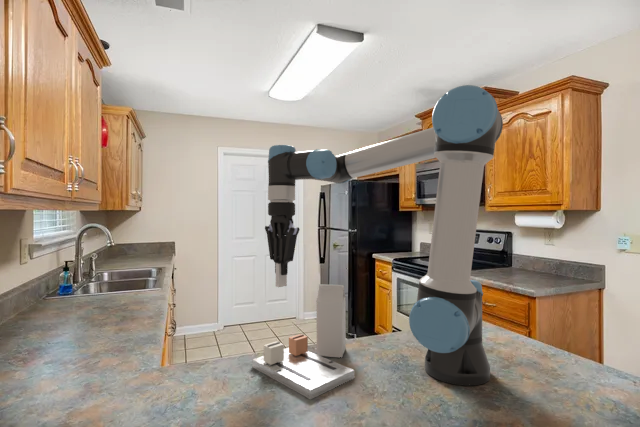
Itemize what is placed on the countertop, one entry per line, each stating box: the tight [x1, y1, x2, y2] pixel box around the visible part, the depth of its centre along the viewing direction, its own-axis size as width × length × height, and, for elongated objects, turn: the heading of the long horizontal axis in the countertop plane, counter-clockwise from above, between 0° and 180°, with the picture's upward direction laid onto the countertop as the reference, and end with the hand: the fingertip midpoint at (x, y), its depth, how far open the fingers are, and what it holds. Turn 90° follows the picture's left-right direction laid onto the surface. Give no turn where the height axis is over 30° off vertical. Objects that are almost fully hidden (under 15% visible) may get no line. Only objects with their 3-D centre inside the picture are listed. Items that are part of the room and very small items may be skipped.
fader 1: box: [263, 340, 285, 365], centre depth 91 cm, size 3×4×4 cm
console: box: [251, 347, 355, 400], centre depth 89 cm, size 22×14×2 cm, turn 44°
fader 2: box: [288, 333, 309, 356], centre depth 96 cm, size 3×4×4 cm
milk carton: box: [316, 283, 347, 359], centre depth 102 cm, size 7×7×19 cm
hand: (281, 286), depth 101 cm, fingers closed
